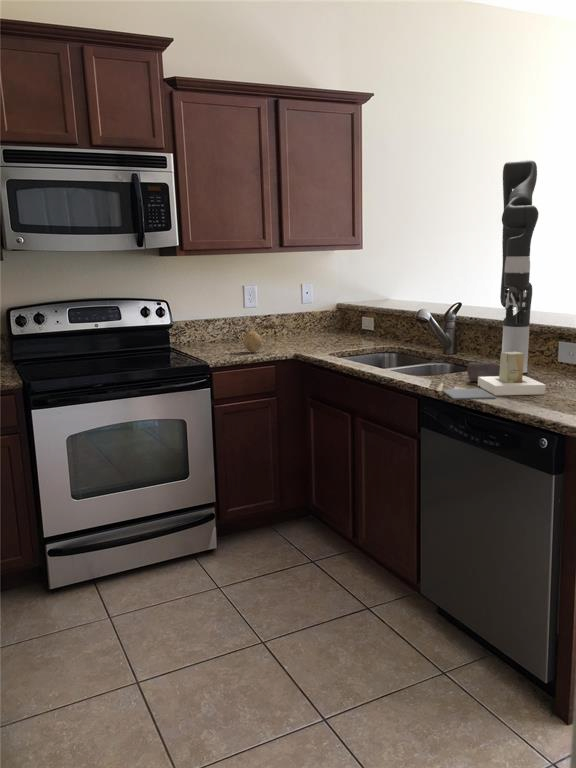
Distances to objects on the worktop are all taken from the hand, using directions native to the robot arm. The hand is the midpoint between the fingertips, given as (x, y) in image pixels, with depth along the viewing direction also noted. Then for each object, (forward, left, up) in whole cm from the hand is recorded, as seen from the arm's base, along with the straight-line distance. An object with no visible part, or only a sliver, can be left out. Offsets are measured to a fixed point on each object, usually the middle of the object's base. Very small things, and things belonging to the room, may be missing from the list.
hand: (514, 322), depth 208 cm
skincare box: (0, 0, -22) cm, 22 cm away
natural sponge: (-96, -84, -22) cm, 130 cm away
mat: (+6, -16, -22) cm, 28 cm away
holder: (0, 0, -22) cm, 22 cm away
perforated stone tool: (-16, -3, -22) cm, 28 cm away
